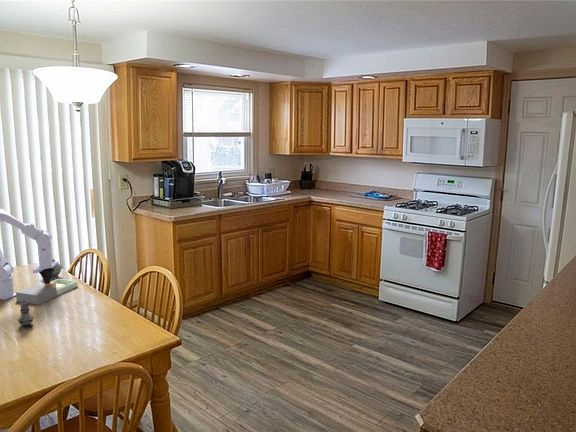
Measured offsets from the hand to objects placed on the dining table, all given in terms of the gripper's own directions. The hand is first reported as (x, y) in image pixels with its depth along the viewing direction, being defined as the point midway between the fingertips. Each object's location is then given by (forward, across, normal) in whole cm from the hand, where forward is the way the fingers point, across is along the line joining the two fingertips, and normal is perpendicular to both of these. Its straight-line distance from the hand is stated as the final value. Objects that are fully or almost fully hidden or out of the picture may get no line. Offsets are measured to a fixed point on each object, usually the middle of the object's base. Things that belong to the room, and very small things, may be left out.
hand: (47, 283), depth 233 cm
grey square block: (+6, -7, 0) cm, 9 cm away
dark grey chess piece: (+6, -34, -21) cm, 40 cm away
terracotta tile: (+3, 0, 0) cm, 3 cm away
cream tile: (+3, +6, 0) cm, 7 cm away
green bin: (+6, +6, 0) cm, 9 cm away
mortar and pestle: (+6, +20, +16) cm, 26 cm away
